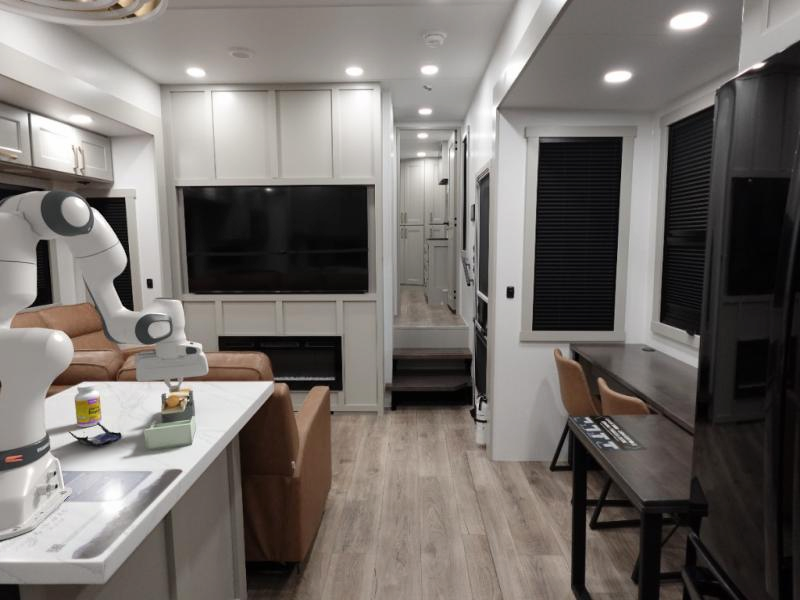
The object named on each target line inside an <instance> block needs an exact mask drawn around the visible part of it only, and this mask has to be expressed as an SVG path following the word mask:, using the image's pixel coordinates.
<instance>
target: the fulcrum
mask: <svg viewBox="0 0 800 600" xmlns="http://www.w3.org/2000/svg"><path fill="white" fill-rule="evenodd" d="M166 398H167V393H166V392H165V393H162V394H161V404H162V403H163V401H164V400H166ZM161 411H162V409H161ZM192 416H195V417H196V407H195V400H194V391H193V390H192V389H191V391H189V400H188V401H187V404H186V406H185V409H184V412H175V413H167V414H162V413H161V423H168V422H176V421H184V420H191V419H192Z"/></svg>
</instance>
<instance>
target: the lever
mask: <svg viewBox="0 0 800 600" xmlns="http://www.w3.org/2000/svg"><path fill="white" fill-rule="evenodd" d="M191 390H192V385H190V386H180V392H172V393H170V392H169V395H168V397H166V400H164V401H163V403H162V402H161V405H160V406H161V410H162V411H161V415H162V414H167V413H175V412H184V409H185V406H186V404H187V401H189V391H191ZM170 396H177V397H178V398H179V400H180V402H179V404H178V405H177V406H176V407H170V406H168V405H167V399H168V398H169V397H170Z"/></svg>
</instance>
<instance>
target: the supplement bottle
mask: <svg viewBox="0 0 800 600" xmlns="http://www.w3.org/2000/svg"><path fill="white" fill-rule="evenodd" d="M77 391H78V393H77V394H76V395H75V396H74V404H75V405H74V407H75V417H76V425H77V427H79V428H89V427H94V426H97V422H99V423H100V424H101V423H102V421H103V420H102V406H101V396H100V393H99V391H97V390H96V383H93V382H90V383H89V382H87V383H82V384H78V385H77Z"/></svg>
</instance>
